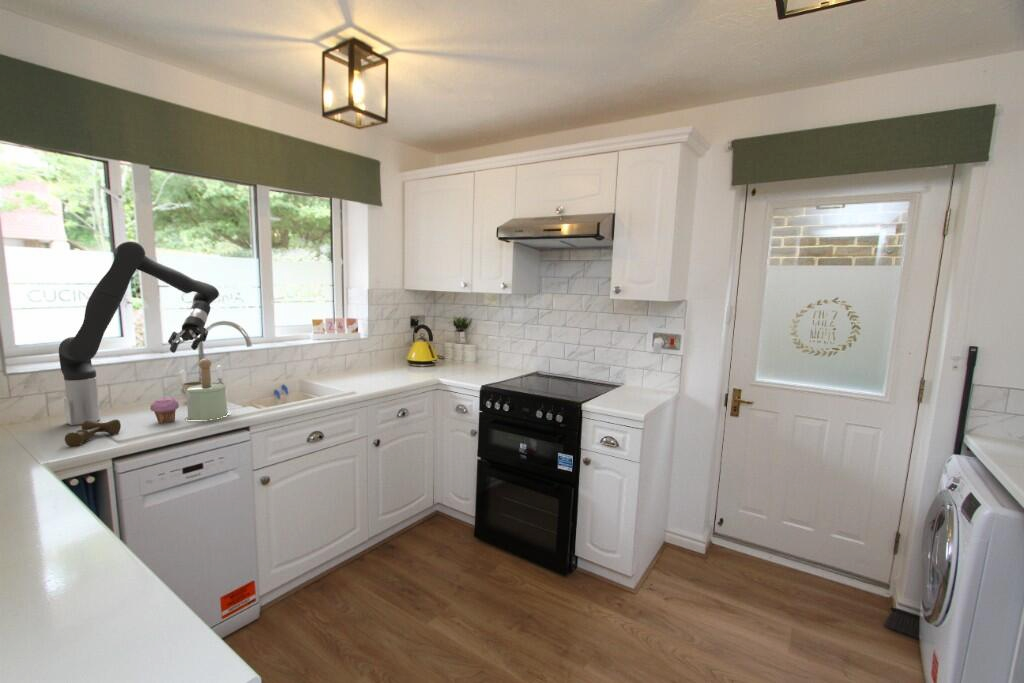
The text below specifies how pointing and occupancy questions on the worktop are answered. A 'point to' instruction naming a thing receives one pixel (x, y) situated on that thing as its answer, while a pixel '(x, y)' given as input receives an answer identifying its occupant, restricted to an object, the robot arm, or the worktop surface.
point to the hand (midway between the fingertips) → (182, 350)
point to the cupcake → (165, 409)
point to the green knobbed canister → (206, 397)
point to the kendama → (91, 431)
